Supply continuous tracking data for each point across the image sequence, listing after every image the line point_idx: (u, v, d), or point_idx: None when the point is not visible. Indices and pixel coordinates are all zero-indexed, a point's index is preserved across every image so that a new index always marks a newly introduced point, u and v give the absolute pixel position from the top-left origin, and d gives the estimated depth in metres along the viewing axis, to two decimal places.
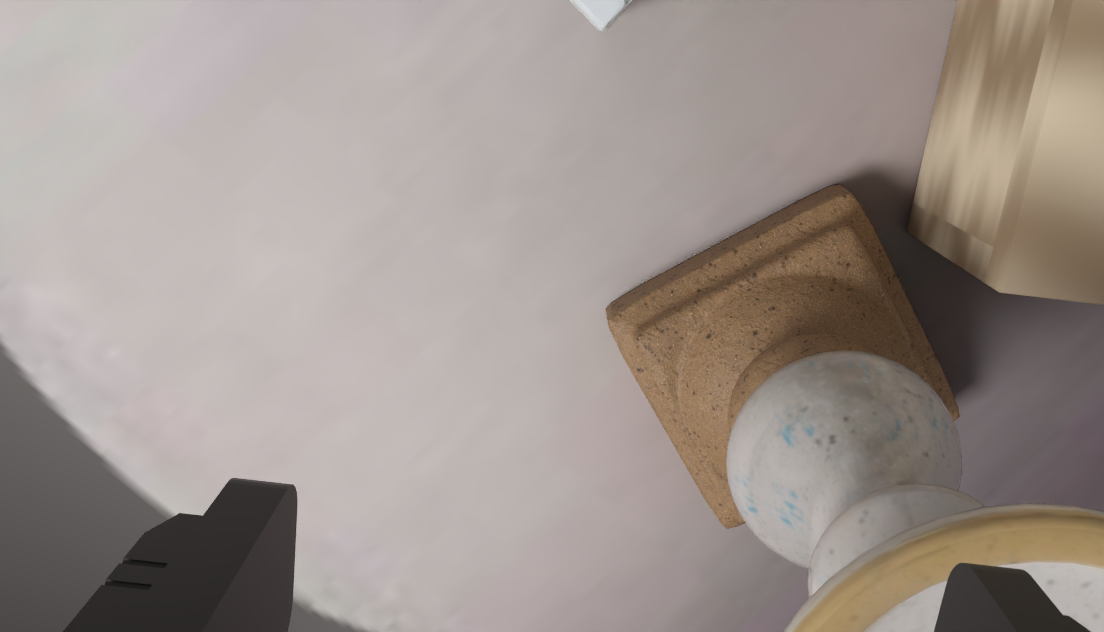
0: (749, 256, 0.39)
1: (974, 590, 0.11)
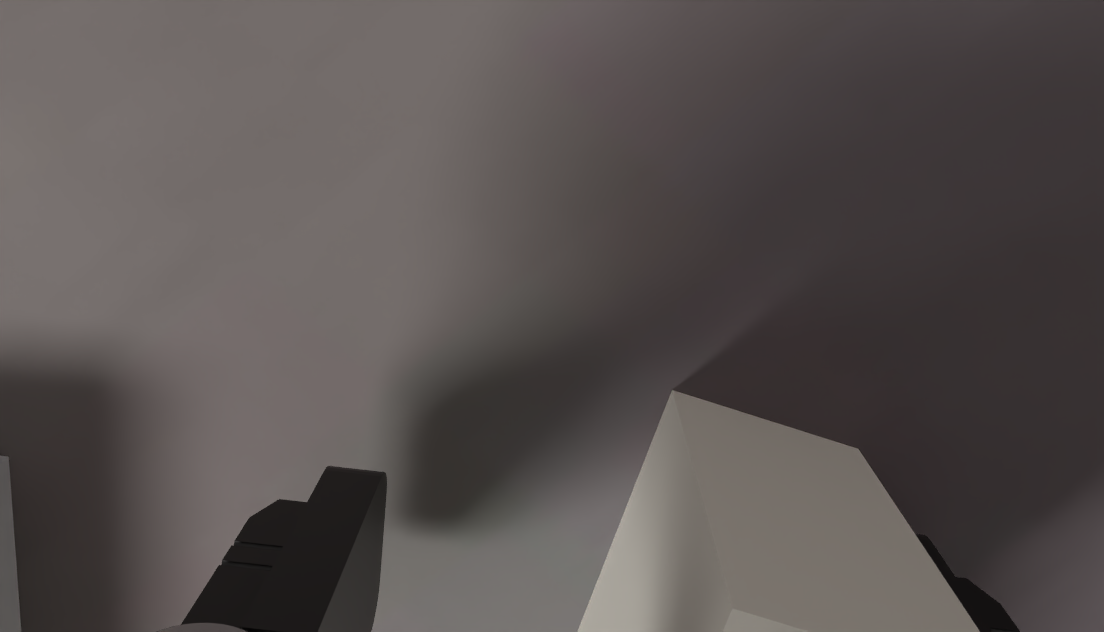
0: None
1: None
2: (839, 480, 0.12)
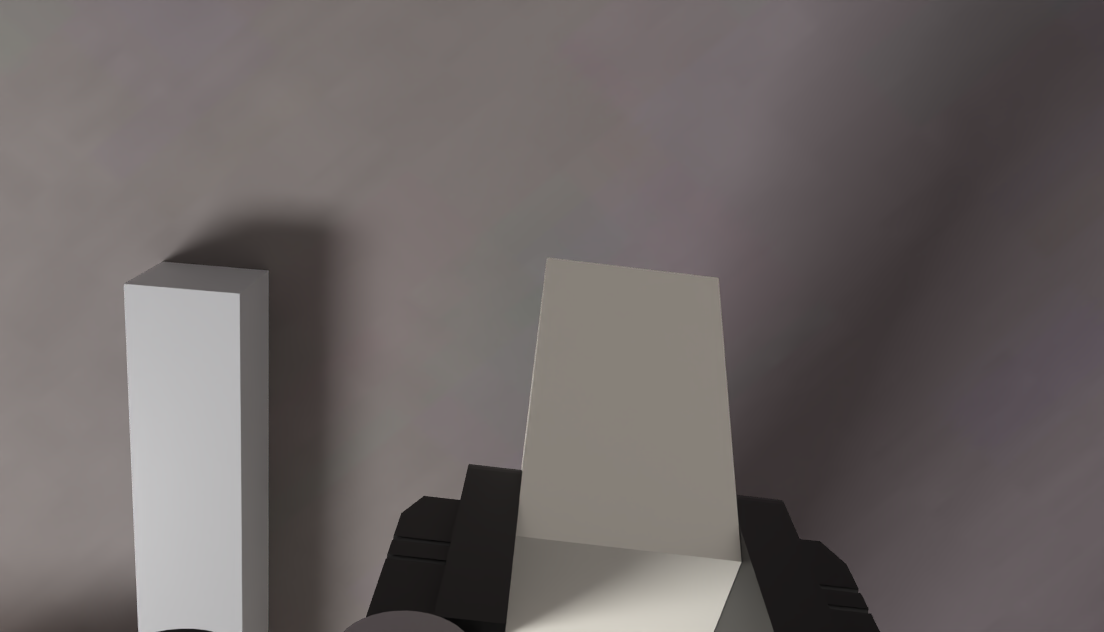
0: None
1: None
2: (678, 337, 0.14)
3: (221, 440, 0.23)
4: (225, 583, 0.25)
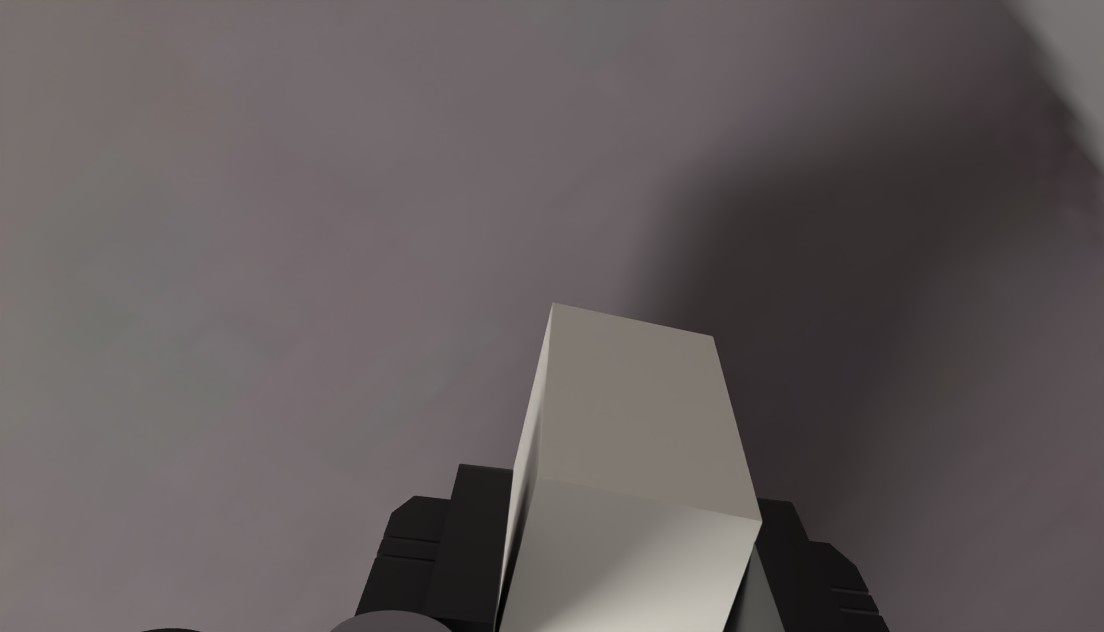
0: None
1: None
2: (680, 367, 0.15)
3: None
4: None
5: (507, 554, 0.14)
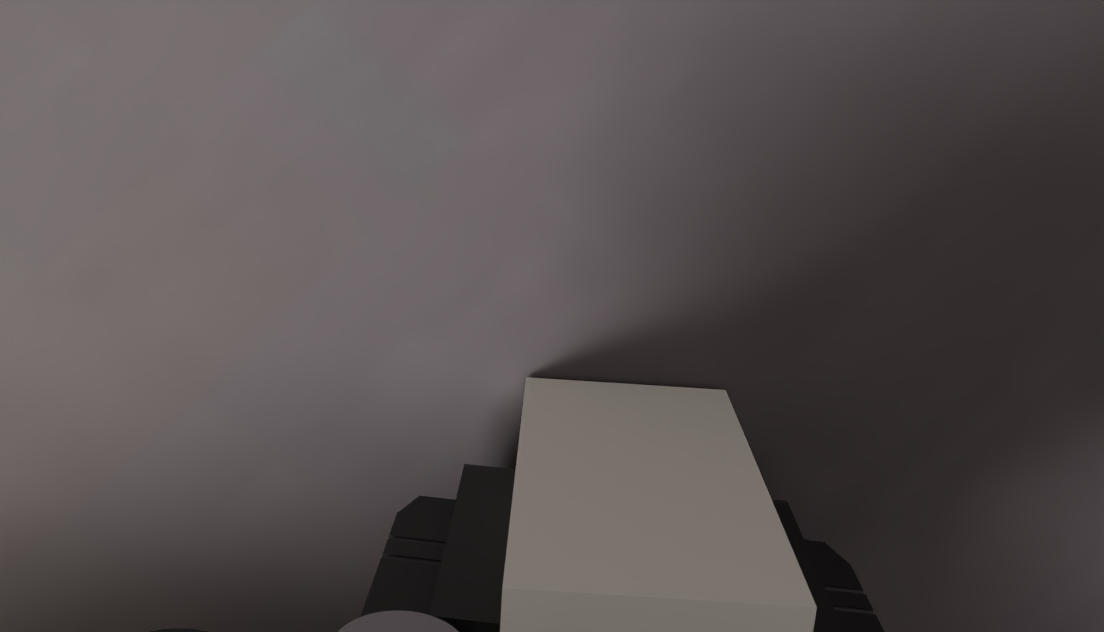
0: None
1: None
2: (688, 429, 0.12)
3: None
4: None
5: None
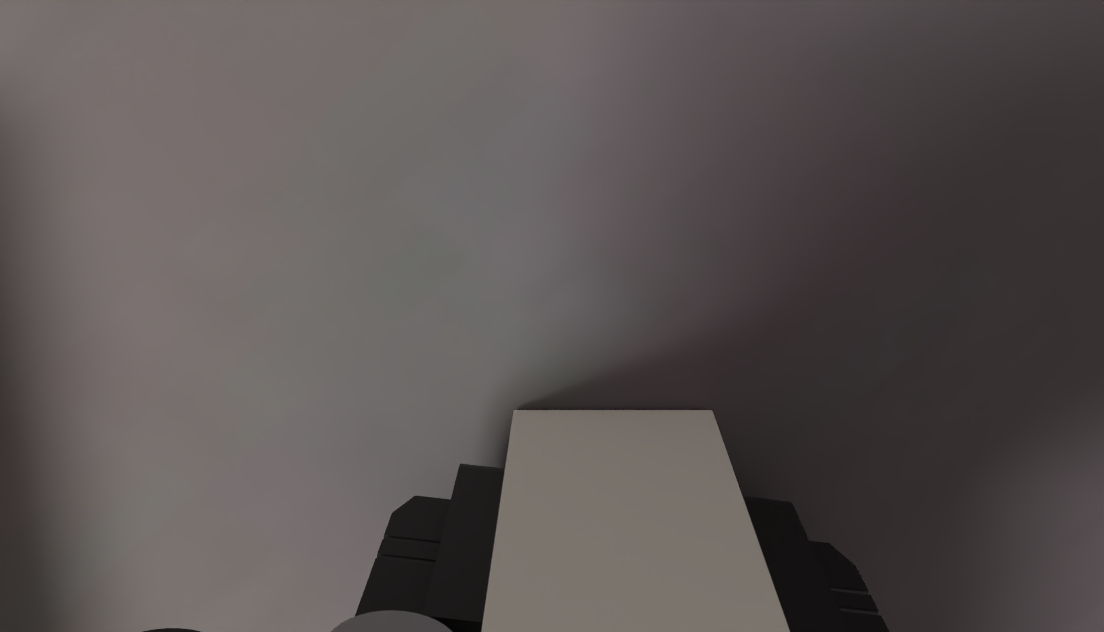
0: None
1: None
2: (672, 455, 0.12)
3: None
4: None
5: None
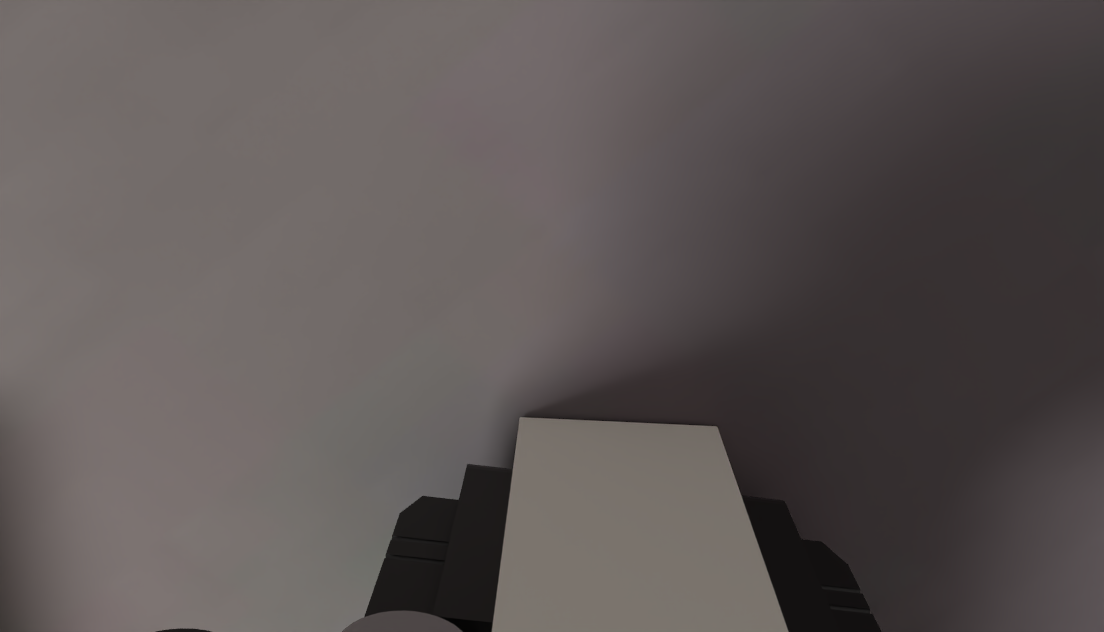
0: None
1: None
2: (678, 470, 0.12)
3: None
4: None
5: None
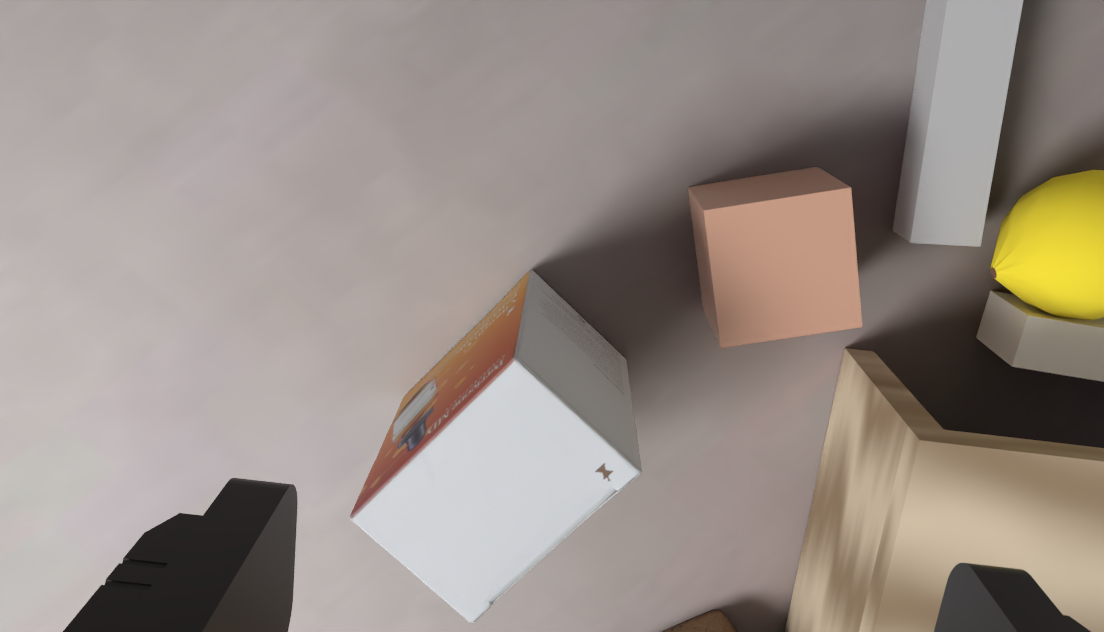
0: None
1: (974, 591, 0.11)
2: None
3: None
4: (1001, 62, 0.35)
5: None
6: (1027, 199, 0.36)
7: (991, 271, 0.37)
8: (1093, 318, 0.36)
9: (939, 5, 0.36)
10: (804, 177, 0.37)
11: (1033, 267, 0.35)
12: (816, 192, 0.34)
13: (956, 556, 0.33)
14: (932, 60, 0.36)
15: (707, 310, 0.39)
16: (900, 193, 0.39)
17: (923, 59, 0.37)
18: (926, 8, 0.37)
